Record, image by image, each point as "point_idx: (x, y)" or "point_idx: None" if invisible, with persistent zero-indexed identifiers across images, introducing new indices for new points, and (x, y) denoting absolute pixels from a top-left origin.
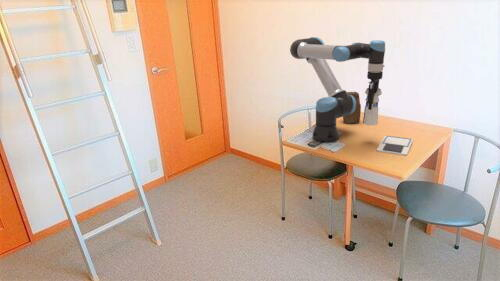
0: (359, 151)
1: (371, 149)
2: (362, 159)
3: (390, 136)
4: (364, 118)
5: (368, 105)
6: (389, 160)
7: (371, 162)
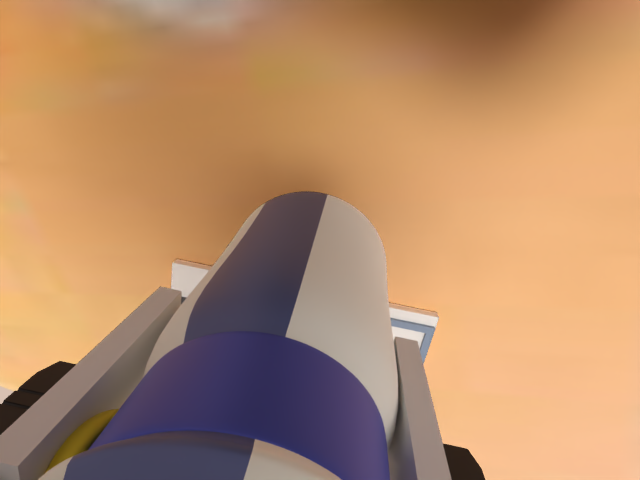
0: (134, 156)
1: (194, 230)
2: (22, 182)
3: (420, 348)
4: (247, 227)
5: (33, 417)
6: (77, 319)
7: (8, 232)
